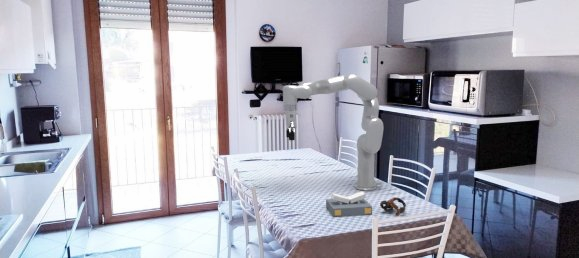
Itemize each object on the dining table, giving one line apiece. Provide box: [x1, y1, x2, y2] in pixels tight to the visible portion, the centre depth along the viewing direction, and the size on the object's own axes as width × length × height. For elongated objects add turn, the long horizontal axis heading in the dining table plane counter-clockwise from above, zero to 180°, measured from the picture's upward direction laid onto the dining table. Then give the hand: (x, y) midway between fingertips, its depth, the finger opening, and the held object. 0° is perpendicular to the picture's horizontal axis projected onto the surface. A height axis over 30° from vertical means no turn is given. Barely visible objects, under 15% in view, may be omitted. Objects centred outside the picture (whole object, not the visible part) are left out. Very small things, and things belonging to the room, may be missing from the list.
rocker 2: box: [347, 190, 367, 203], centre depth 191 cm, size 8×4×2 cm, turn 98°
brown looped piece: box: [379, 196, 407, 217], centre depth 188 cm, size 12×10×8 cm
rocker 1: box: [330, 192, 350, 204], centre depth 190 cm, size 8×4×2 cm, turn 99°
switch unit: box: [325, 198, 373, 218], centre depth 191 cm, size 19×14×5 cm
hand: (290, 138), depth 217 cm, fingers open, 9 cm apart
